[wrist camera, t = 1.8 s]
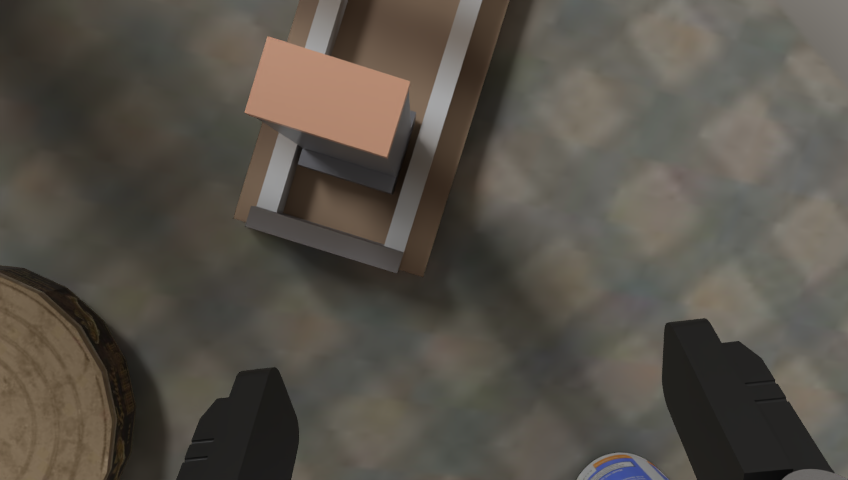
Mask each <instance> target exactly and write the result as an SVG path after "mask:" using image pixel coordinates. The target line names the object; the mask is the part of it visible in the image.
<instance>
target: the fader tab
mask: <svg viewBox="0 0 848 480" xmlns="http://www.w3.org/2000/svg"><path fill="white" fill-rule="evenodd" d="M410 86H411V84H410V81H408V80H405V79H401V78H398V77H395V76H392V75H389V74H386V73H382V72H379V71H376V70H373V69H370V68H367V67H363V66H360V65H357V64H354V63H351V62H348V61H344V60H341V59H338V58H335V57H332V56H329V55H325V54H322V53H319V52H316V51H313V50H310V49H307V48H303V47H300V46H297V45H294V44H291V43H288V42H284V41H281V40H278V39H275V38H272V37H269V36H268V37H267V40H266V43H265V46H264V50H263V53H262V56H261V60H260V63H259V66H258V69H257V73H256V76H255V79H254V83H253V86H252V89H251V93H250V96H249V99H248V102H247V106H246V109H245V113H246V114H248V115H249V116H252V117H255V118H257V119H259V120H260V121H262V122H264V123H265V124H267V125H268V126H270V127H271V128H273V129H274V130H276V131H277V132H279V133H281V134H282V135H284V136H285V137H287V138H288V139H290V140H291V141H293V142H294V143H296V144H297V145H299V146H301V147H302V148H303V149H302V152H301V155H300V158H299V162H298V165H301V166H303V167H305V168H308V169H311V170H314V171H318V172H321V173H324V174H327V175H330V176H334V177H337V178H340V179H343V180H346V181H350V182H353V183H356V184H359V185H362V186H366V187H369V188H372V189H375V190H378V191H382V192H385V193H388V194H391V195H393V192H394V188H395V185H396V182H397V179H398V175H399V172H400V169H401V166H402V163H403V159H404V156H405V153H406V150H407V146H408V143H409V140H410V137H411V134H412V130H413V127H414V124H415V121H416V112H414V111H411V110H410V101H409V89H410Z"/></svg>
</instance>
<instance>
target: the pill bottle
mask: <svg viewBox="0 0 848 480" xmlns="http://www.w3.org/2000/svg"><path fill="white" fill-rule="evenodd" d="M577 480H669V479H668V478H667V477H666V476H665V475H664V474H663V473H662V472H661V471H660V470H659V469H658V468H657V467H656V466H655V465H653V464H652V463H651V462H649V461H647V460H646V459H644V458H642V457H640V456H637V455H634V454H630V453H611V454H607V455H604V456H602V457H600V458H598V459H596V460H594V461H593V462H591V463H590V464H589V465H588V466H587V467H586V468H585V469H584V470H583V471H582V472H581V473H580V475H579V476H578V478H577Z"/></svg>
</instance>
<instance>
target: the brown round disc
mask: <svg viewBox="0 0 848 480" xmlns="http://www.w3.org/2000/svg"><path fill="white" fill-rule="evenodd" d="M135 412H136V403H135V399H134V394H133V389H132V385H131V380H130V376H129V371H128V366H127V362H126V359H125V357H124V356H123V354H122V352H121V351H120V349H119V347H118V345H117V344H116V342H115V340H114V338H113V337H112V335H111V333H110V332H109V330H108V328H107V326H106V325H105V323H104V321H103V320H102V319H101V318H100V317H99V316H98V315H97V314H96V313H95V312H94V311H92V310H91V309H90V308H89V307H88V306H87V305H86V304H85V303H84V302H82V301H81V300H80V299H79V298H78V297H77V296H76V295H75V294H74V293H72V292H71V291H70V290H69V289H68V288H67V287H64V286H62V285H60V284H58V283H56V282H53V281H51V280H49V279H47V278H45V277H42V276H40V275H38V274H36V273H33V272H31V271H29V270H27V269H25V268H19V267H10V266H1V265H0V480H119V478H120V476H121V474H122V471H123V469H124V467H125V465H126V463H127V460H128V458H129V456H130V454H131V449H132V440H133V430H134V421H135Z"/></svg>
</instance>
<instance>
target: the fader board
mask: <svg viewBox="0 0 848 480" xmlns="http://www.w3.org/2000/svg"><path fill="white" fill-rule="evenodd" d="M509 1H510V0H300V1H299V4H298V7H297V11H296V14H295V17H294V20H293V24H292V27H291V30H290V34H289V37H288V40H287V42H288V43H291V44H294V45H297V46H300V47H303V48H307V49H310V50H313V51H316V52H319V53H322V54H325V55H329V56H332V57H335V58H338V59H341V60H344V61H348V62H351V63H354V64H357V65H360V66H363V67H367V68H370V69H373V70H376V71H379V72H382V73H386V74H389V75H392V76H395V77H398V78H401V79H405V80H408V81H410V84H411V86H410V89H409V101H410V110H411V111H414V112H416V121H415V124H414V127H413V130H412V134H411V137H410V140H409V143H408V146H407V150H406V153H405V156H404V159H403V163H402V166H401V169H400V172H399V175H398V179H397V182H396V185H395V188H394V192H393V195H391V194H388V193H385V192H382V191H378V190H375V189H372V188H369V187H366V186H362V185H359V184H356V183H353V182H350V181H346V180H343V179H340V178H337V177H334V176H330V175H327V174H324V173H321V172H318V171H314V170H311V169H308V168H305V167H303V166H301V165H298V162H299V158H300V155H301V152H302V149H303V148H302V147H301V146H299V145H297V144H296V143H294V142H293V141H291V140H290V139H288V138H287V137H285V136H284V135H282V134H281V133H279V132H277V131H276V130H274V129H273V128H271V127H270V126H268V125H267V124H265V123H264V122H262V126H261V129H260V132H259V135H258V139H257V142H256V145H255V149H254V152H253V155H252V158H251V162H250V165H249V168H248V172H247V175H246V178H245V181H244V185H243V188H242V191H241V195H240V198H239V201H238V204H237V208H236V211H235V214H234V219H237V220H241V221H244V222H246V224H245V227H249V228H252V229H255V230H258V231H262V232H265V233H268V234H271V235H274V236H278V237H281V238H284V239H287V240H291V241H294V242H297V243H300V244H303V245H307V246H310V247H313V248H316V249H320V250H323V251H326V252H329V253H332V254H336V255H339V256H342V257H345V258H349V259H352V260H355V261H358V262H361V263H365V264H368V265H371V266H374V267H378V268H381V269H384V270H387V271H391V272H394V273H397V272H398V270H402V271H405V272H408V273H411V274H415V275H418V276H421V277H423V276H424V273H425V269H426V266H427V263H428V260H429V257H430V253H431V250H432V247H433V244H434V241H435V237H436V234H437V231H438V228H439V225H440V221H441V218H442V215H443V212H444V209H445V205H446V202H447V199H448V196H449V193H450V189H451V186H452V183H453V180H454V177H455V173H456V170H457V167H458V164H459V161H460V157H461V154H462V151H463V148H464V145H465V141H466V138H467V135H468V132H469V129H470V125H471V122H472V119H473V116H474V113H475V109H476V106H477V103H478V100H479V97H480V93H481V90H482V87H483V84H484V81H485V77H486V74H487V71H488V68H489V65H490V61H491V58H492V55H493V52H494V49H495V45H496V42H497V39H498V36H499V33H500V29H501V26H502V23H503V20H504V17H505V13H506V10H507V7H508V4H509Z"/></svg>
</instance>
